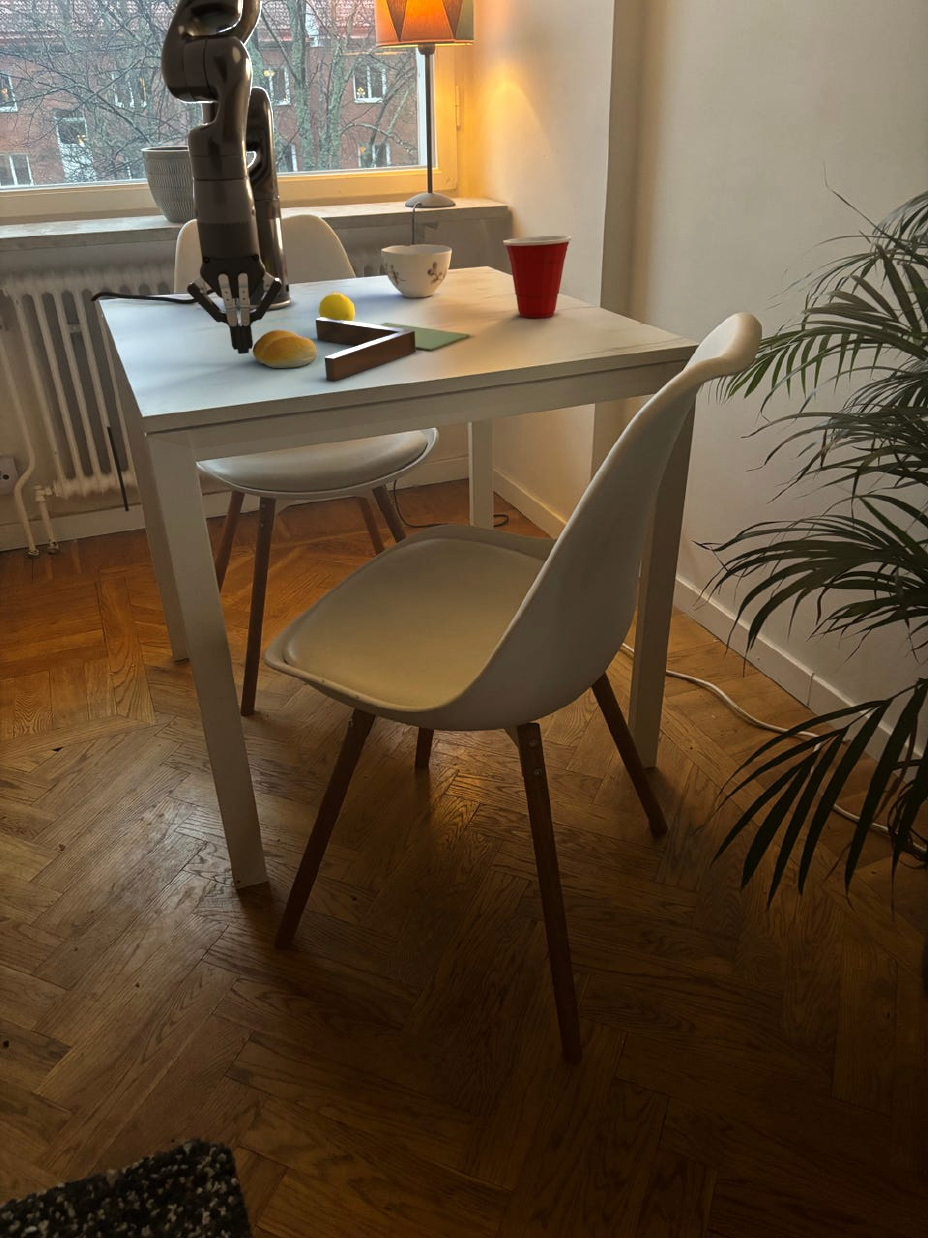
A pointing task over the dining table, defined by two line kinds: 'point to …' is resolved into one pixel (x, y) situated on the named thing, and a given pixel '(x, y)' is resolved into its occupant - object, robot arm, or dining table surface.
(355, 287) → the dining table surface
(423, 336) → the cloth
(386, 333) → the corner guide
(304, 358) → the bread roll
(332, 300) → the lemon
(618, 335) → the dining table surface
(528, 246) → the plastic cup
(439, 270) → the teacup
